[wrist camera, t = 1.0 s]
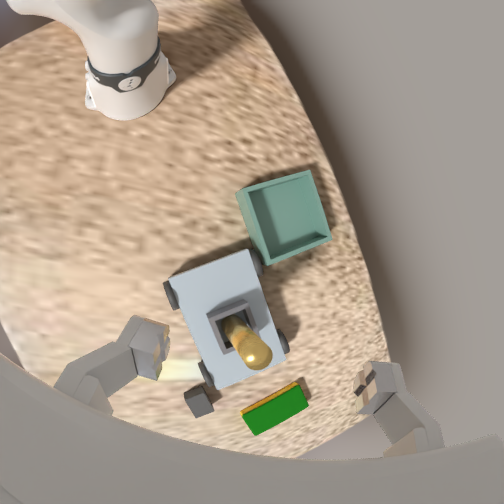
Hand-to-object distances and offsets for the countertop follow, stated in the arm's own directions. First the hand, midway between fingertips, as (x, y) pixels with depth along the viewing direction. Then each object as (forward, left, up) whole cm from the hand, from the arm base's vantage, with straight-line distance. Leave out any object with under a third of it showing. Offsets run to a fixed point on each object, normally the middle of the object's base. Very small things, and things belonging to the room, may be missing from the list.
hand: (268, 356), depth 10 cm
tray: (-3, +19, -40) cm, 44 cm away
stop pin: (+11, +3, -35) cm, 37 cm away
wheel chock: (+25, -9, -40) cm, 48 cm away
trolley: (+11, +3, -40) cm, 42 cm away
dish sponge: (+35, +5, -41) cm, 54 cm away
